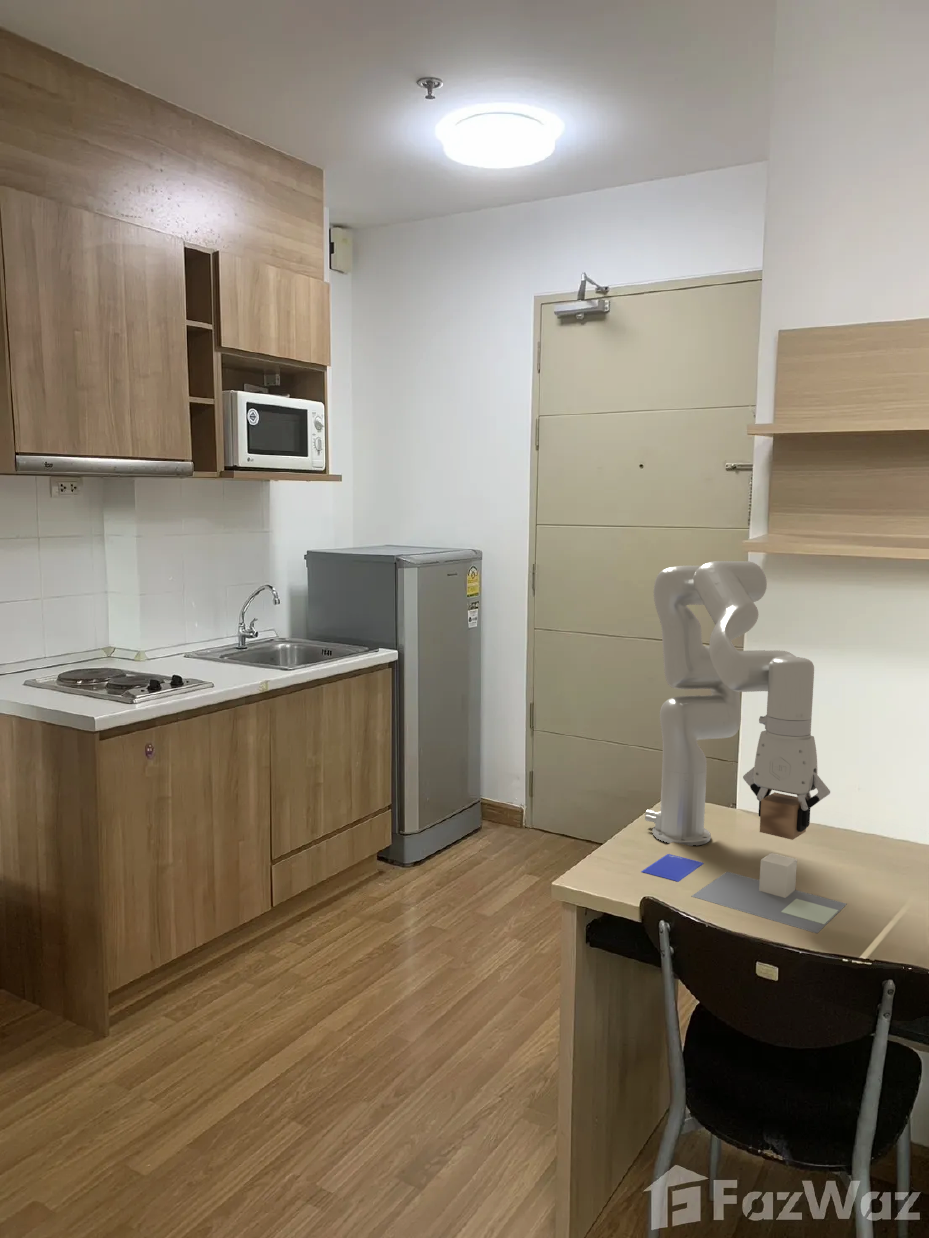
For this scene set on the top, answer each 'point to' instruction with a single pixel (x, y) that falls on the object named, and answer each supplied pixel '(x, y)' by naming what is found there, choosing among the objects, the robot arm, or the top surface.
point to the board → (770, 902)
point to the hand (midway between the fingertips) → (783, 824)
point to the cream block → (778, 875)
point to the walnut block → (780, 815)
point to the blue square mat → (672, 867)
